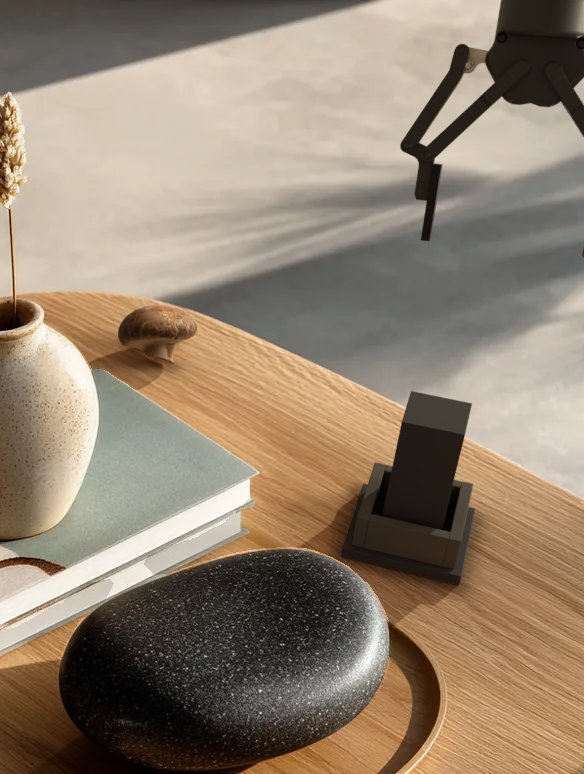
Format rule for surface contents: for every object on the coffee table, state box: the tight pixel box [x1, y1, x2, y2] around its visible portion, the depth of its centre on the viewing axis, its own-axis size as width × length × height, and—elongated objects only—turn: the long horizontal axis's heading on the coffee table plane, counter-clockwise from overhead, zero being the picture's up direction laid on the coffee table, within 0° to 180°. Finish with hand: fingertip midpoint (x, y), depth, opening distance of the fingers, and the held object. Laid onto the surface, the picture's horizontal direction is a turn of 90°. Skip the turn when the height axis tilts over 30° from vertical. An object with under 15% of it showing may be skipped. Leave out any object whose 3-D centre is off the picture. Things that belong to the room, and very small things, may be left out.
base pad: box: [340, 462, 476, 586], centre depth 115 cm, size 10×10×4 cm
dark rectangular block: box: [382, 390, 473, 530], centre depth 112 cm, size 5×5×12 cm
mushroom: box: [117, 304, 198, 365], centre depth 137 cm, size 8×8×6 cm
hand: (505, 248), depth 116 cm, fingers open, 13 cm apart
